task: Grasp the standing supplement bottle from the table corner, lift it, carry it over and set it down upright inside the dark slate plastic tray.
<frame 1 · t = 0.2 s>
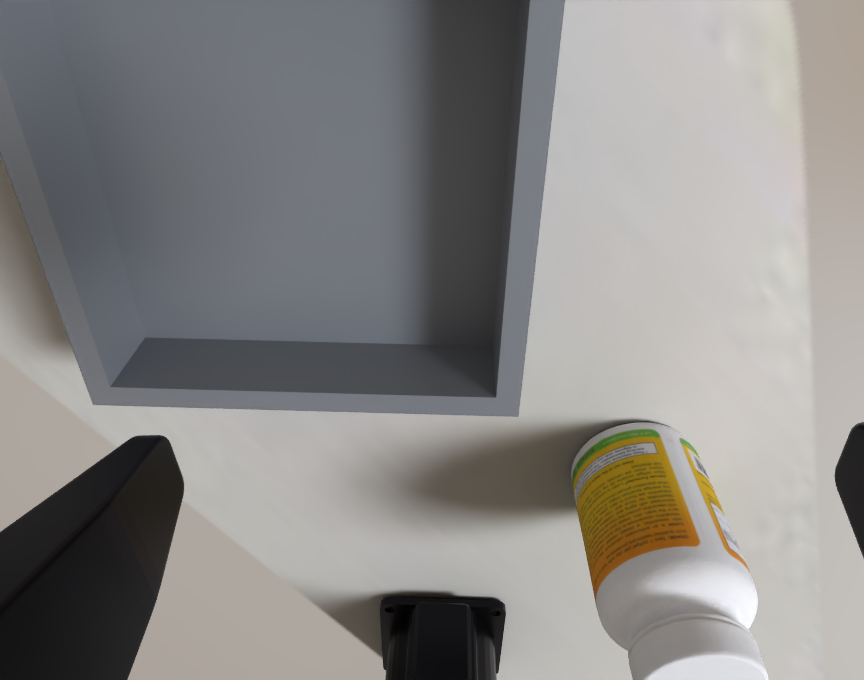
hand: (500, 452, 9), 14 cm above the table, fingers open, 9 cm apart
supplement bottle: (631, 461, 28), on the table
tray: (303, 166, 21), on the table
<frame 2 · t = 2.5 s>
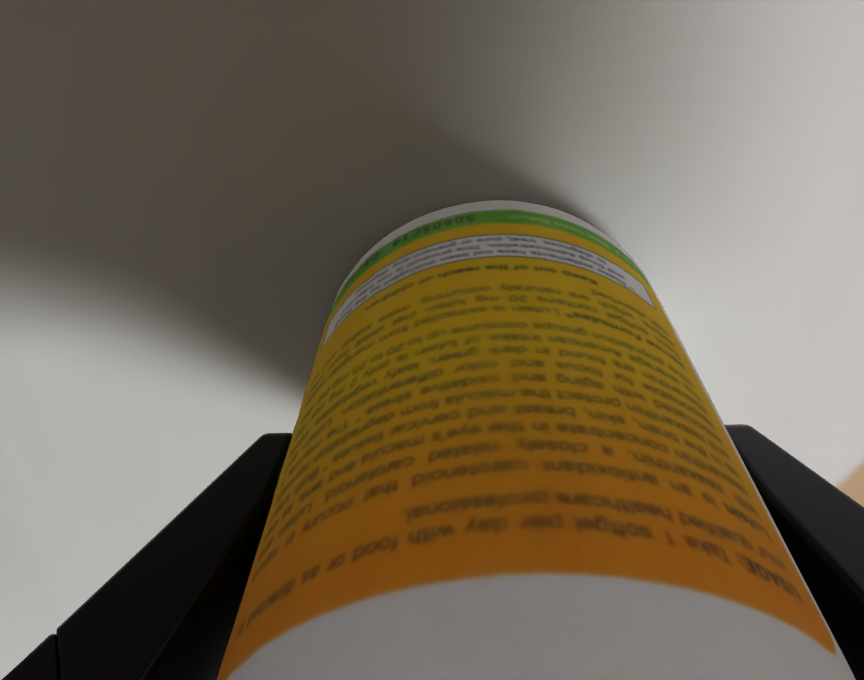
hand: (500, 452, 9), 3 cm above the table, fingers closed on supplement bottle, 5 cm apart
supplement bottle: (489, 339, 11), on the table, touching gripper
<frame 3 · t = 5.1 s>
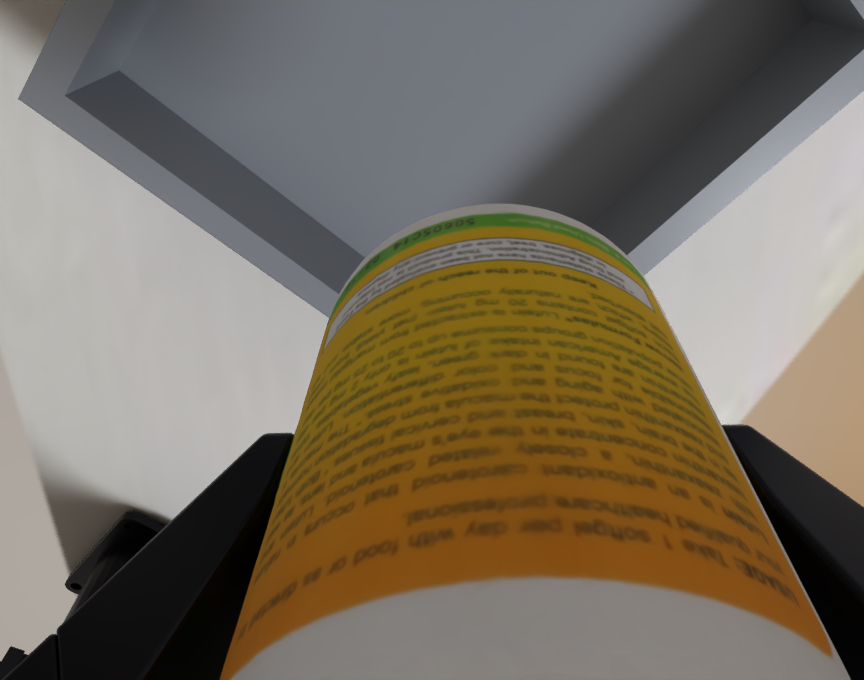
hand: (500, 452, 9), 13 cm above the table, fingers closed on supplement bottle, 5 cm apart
supplement bottle: (490, 341, 11), point 10 cm above the table, touching gripper
tray: (455, 42, 18), on the table
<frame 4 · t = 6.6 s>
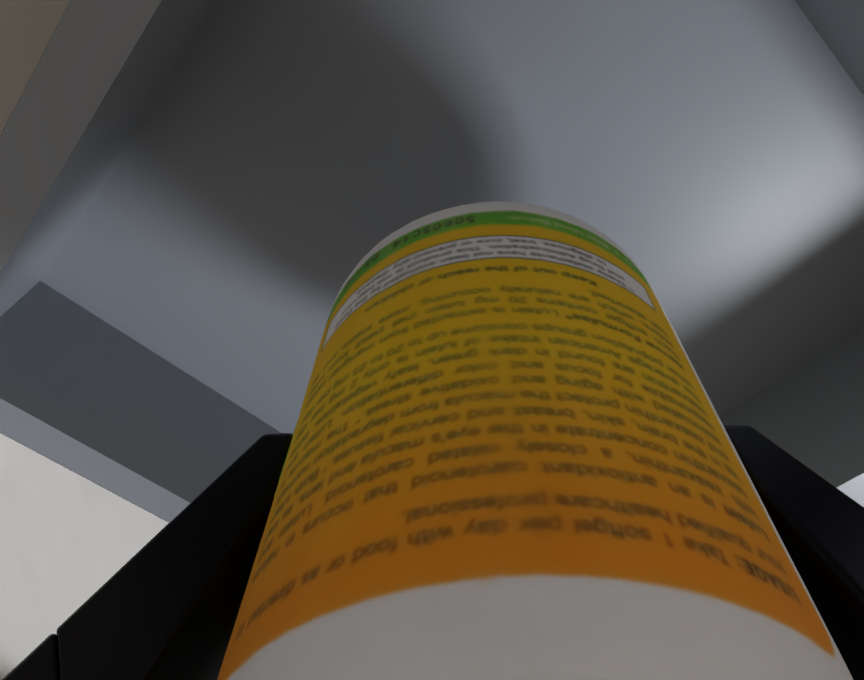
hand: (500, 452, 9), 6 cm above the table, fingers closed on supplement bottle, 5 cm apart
supplement bottle: (489, 340, 11), point 3 cm above the table, touching gripper
tray: (488, 253, 13), on the table
when the fingers open (5 cm above the table, at t = 7.7 s): supplement bottle drops 1 cm, resting on tray.
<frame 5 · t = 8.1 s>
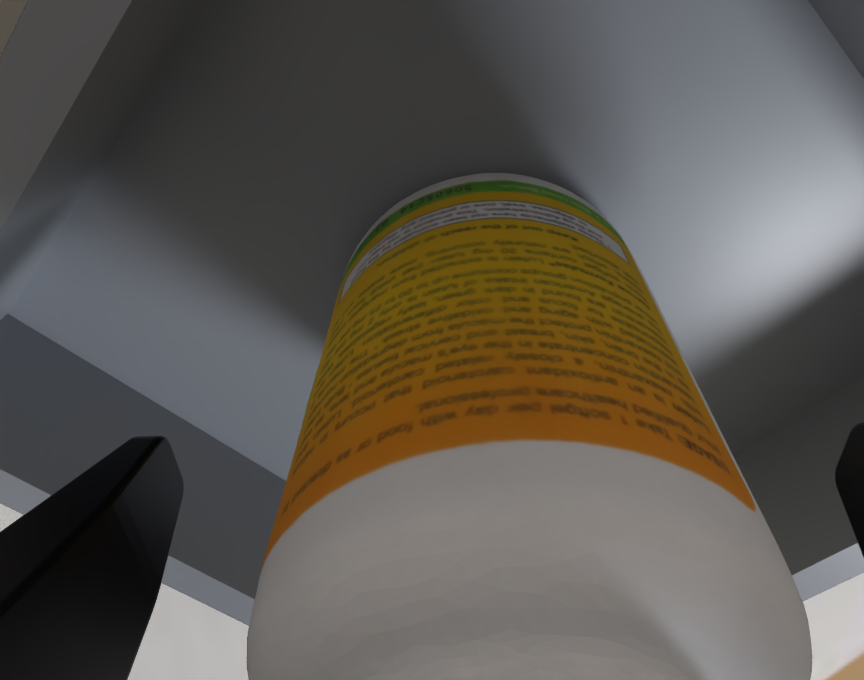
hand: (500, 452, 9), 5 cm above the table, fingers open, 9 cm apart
supplement bottle: (486, 301, 12), resting on tray
tray: (487, 284, 12), on the table
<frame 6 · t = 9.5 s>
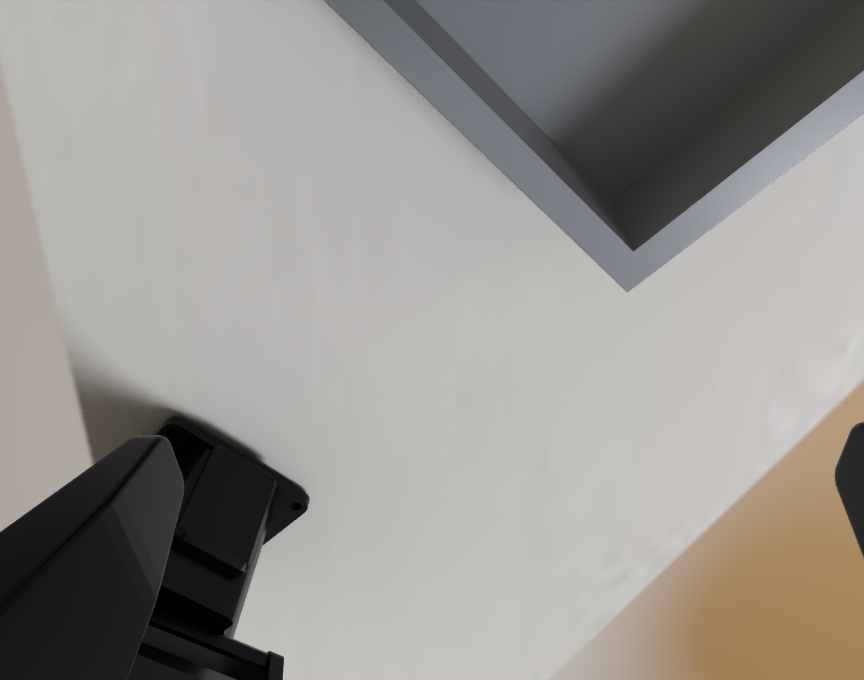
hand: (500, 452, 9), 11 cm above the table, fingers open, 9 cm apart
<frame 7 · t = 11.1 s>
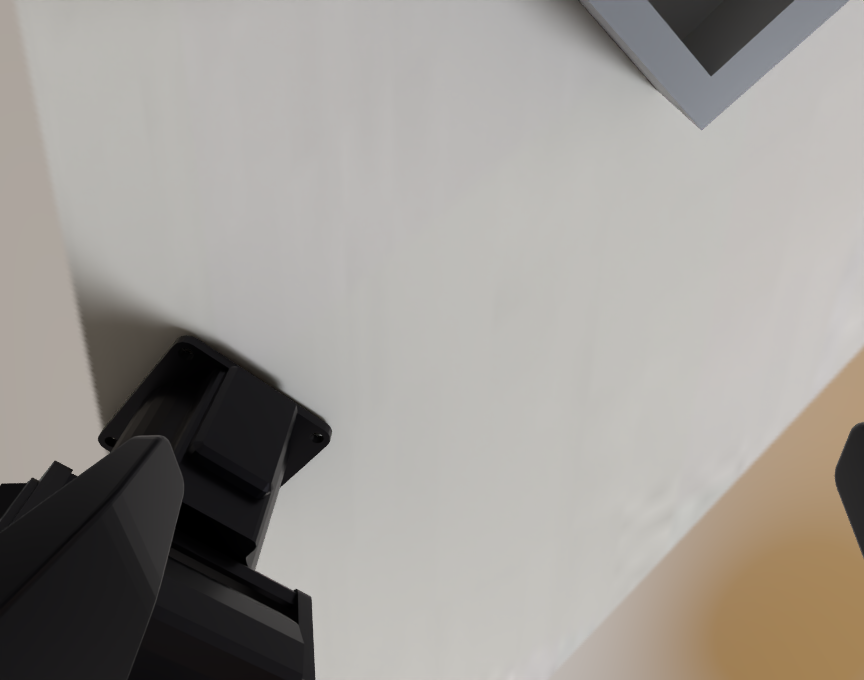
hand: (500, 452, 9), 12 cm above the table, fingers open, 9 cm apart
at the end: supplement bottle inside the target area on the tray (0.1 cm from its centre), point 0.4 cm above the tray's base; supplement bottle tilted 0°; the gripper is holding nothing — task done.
